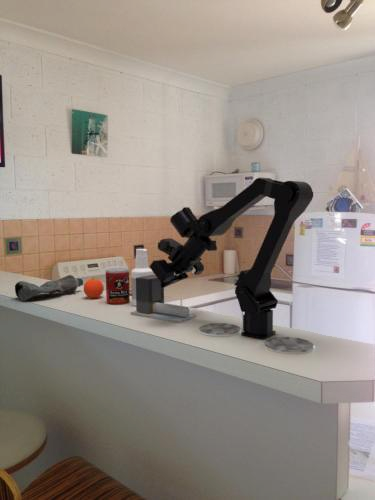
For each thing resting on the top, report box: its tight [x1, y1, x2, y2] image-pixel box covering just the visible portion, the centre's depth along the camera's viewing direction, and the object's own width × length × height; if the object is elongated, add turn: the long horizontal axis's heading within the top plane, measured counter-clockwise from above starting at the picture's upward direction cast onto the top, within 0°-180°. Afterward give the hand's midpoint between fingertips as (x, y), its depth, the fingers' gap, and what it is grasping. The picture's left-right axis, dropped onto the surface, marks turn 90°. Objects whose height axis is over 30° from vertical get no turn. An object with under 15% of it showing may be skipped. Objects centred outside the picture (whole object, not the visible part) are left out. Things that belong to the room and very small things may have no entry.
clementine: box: [83, 277, 106, 299], centre depth 161 cm, size 8×7×7 cm
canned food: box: [105, 267, 131, 306], centre depth 153 cm, size 8×8×11 cm
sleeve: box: [135, 274, 165, 313], centre depth 137 cm, size 5×7×10 cm
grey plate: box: [130, 302, 197, 324], centre depth 134 cm, size 18×8×4 cm, turn 54°
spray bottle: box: [130, 248, 154, 307], centre depth 149 cm, size 7×7×18 cm
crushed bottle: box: [14, 274, 84, 302], centre depth 165 cm, size 13×7×25 cm
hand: (162, 286), depth 134 cm, fingers closed
